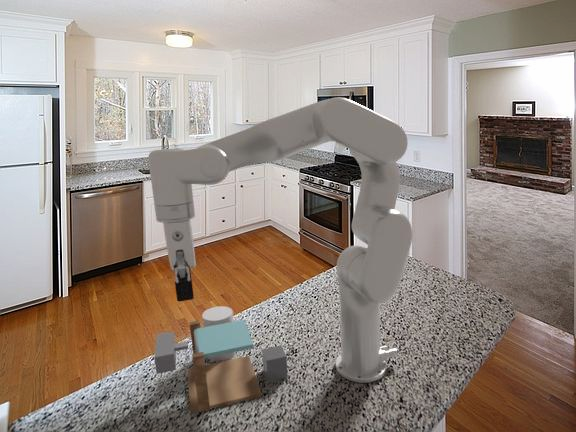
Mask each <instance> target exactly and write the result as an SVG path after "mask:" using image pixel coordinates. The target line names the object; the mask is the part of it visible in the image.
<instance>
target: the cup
mask: <svg viewBox="0 0 576 432" xmlns="http://www.w3.org/2000/svg"><path fill="white" fill-rule="evenodd" d="M201 318H202V325H203V327H208V326H213V325H219V324H224V323H230V322H235V320H234V311H233V309H232V308H231V307H229V306H226V305H225V306H222V305H220V306H212V307H211V308H208V309H206V310H205V311H204V312H202V315H201ZM203 327H202V328H203ZM236 353H237V352H233V353H228V354H223V355H218V356H213V357H208V358H207V359H210V361H211V360H212V362H217V361H219V362H222V361H227V360H231V359H232V358H233V357H235V355H236Z"/></svg>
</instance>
